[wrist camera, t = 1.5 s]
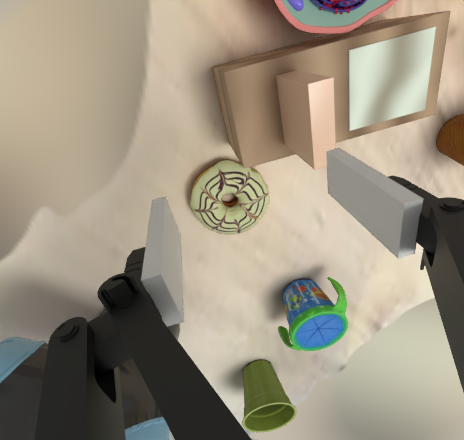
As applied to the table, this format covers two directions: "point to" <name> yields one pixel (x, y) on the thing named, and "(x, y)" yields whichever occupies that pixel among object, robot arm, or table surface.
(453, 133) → the disposable coffee cup
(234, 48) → the table surface
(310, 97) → the tile
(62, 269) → the table surface
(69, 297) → the table surface
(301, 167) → the table surface
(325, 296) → the snack cup
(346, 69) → the block
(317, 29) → the cell model
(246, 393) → the plant pot
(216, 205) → the decorated donut
